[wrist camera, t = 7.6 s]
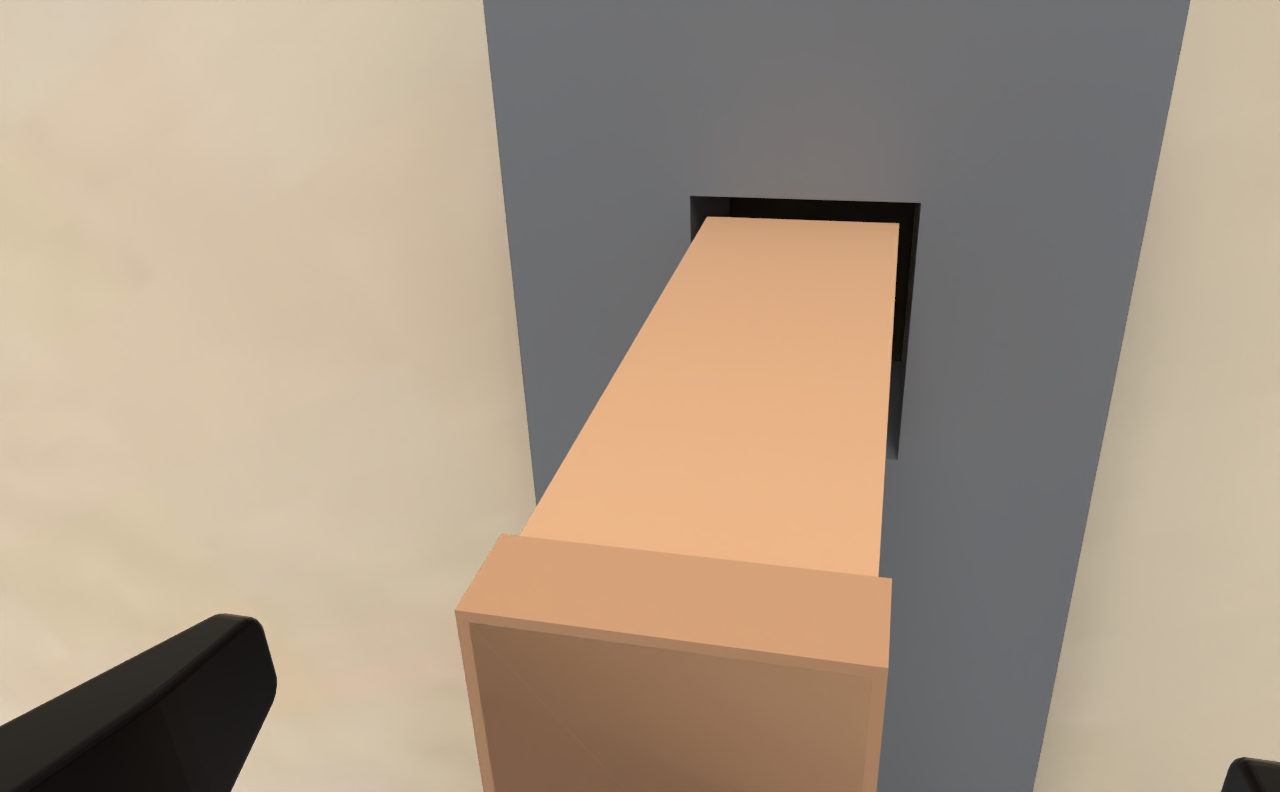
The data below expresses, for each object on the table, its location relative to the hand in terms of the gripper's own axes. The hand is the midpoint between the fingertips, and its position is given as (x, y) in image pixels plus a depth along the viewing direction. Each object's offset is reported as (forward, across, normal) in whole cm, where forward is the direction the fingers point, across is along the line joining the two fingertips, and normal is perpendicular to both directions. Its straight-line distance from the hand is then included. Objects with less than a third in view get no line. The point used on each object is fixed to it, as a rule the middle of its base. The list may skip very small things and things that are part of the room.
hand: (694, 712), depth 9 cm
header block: (+13, 0, +6) cm, 14 cm away
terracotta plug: (+9, 0, 0) cm, 9 cm away
